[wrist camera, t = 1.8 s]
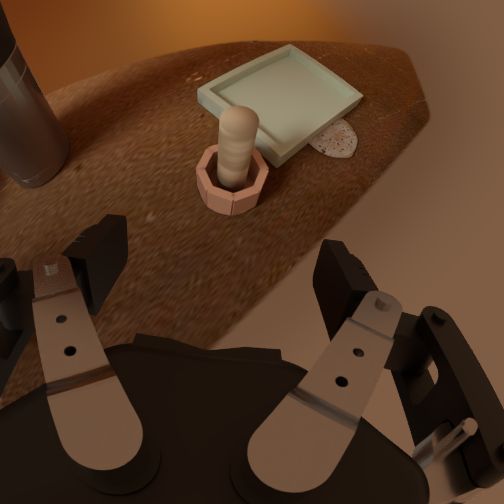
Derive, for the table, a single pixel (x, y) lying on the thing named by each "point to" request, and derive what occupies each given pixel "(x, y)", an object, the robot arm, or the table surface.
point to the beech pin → (235, 147)
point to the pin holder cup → (223, 199)
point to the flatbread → (336, 140)
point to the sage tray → (282, 99)
